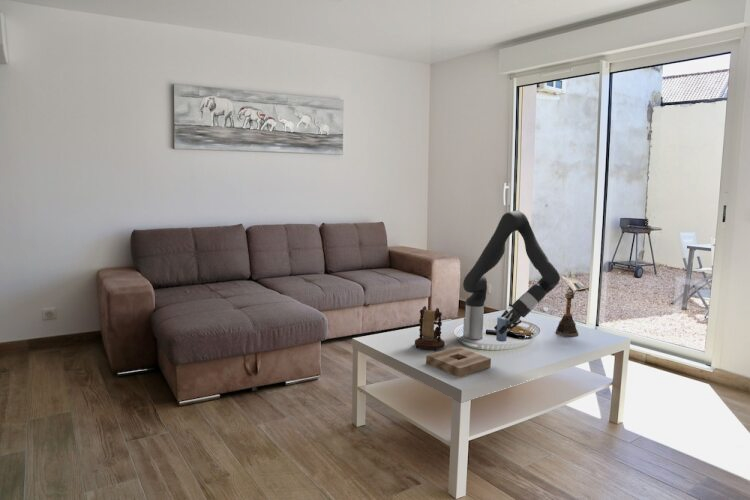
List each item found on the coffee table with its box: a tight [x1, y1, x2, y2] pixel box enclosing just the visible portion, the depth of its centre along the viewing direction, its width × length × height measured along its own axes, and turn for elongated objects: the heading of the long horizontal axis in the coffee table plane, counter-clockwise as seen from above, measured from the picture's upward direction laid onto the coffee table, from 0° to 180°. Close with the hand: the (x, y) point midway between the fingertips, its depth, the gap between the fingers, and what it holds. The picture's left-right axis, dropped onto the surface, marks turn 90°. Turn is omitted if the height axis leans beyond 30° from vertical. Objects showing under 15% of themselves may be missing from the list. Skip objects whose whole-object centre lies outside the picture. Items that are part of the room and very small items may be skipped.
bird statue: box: [555, 269, 590, 338], centre depth 277 cm, size 17×13×35 cm
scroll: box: [414, 305, 446, 352], centre depth 254 cm, size 15×15×20 cm
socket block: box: [425, 346, 492, 378], centre depth 230 cm, size 20×20×4 cm
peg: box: [495, 316, 508, 342], centre depth 232 cm, size 4×4×10 cm
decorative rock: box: [507, 325, 534, 337], centre depth 278 cm, size 11×4×15 cm
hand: (497, 331), depth 232 cm, fingers closed on peg, 4 cm apart
